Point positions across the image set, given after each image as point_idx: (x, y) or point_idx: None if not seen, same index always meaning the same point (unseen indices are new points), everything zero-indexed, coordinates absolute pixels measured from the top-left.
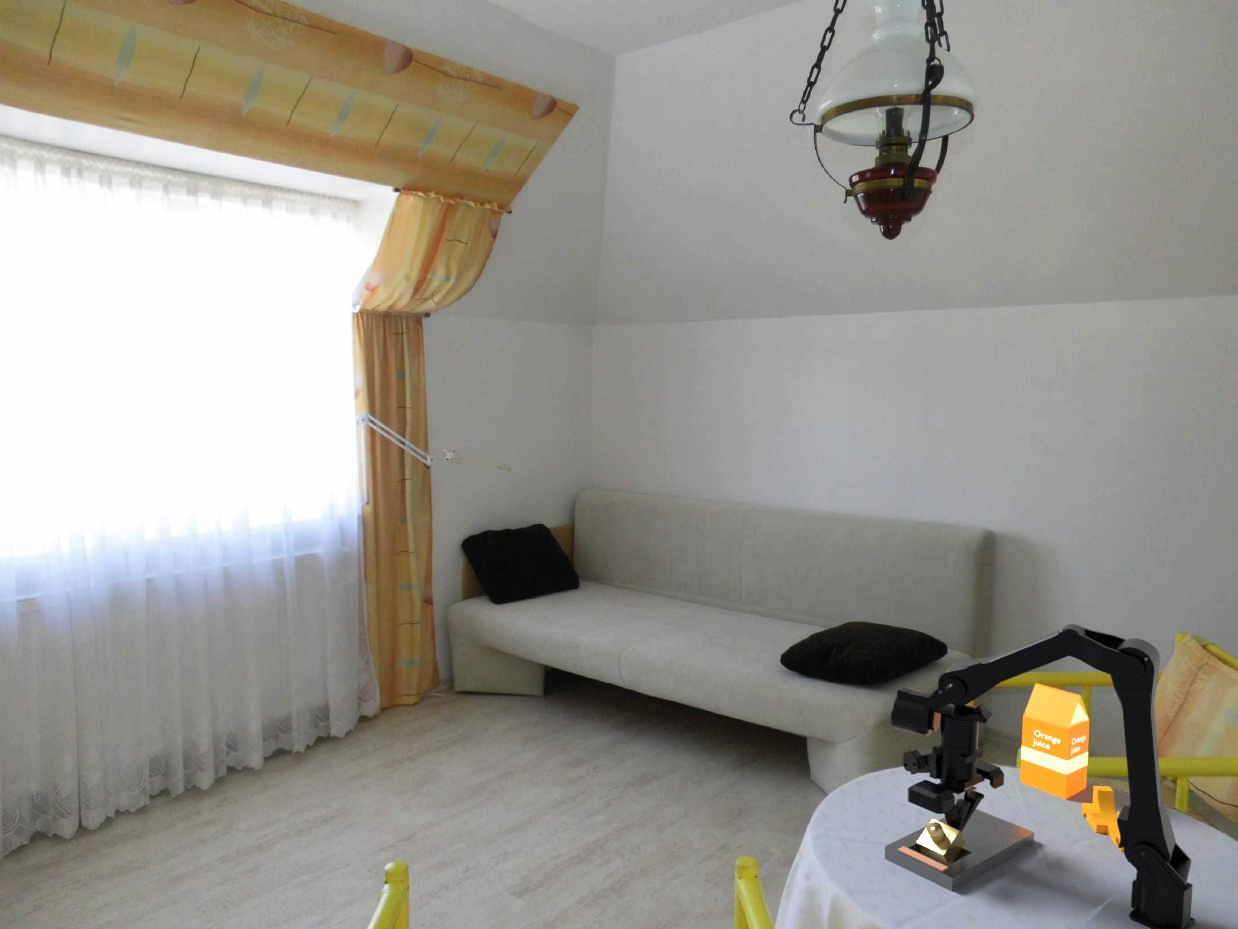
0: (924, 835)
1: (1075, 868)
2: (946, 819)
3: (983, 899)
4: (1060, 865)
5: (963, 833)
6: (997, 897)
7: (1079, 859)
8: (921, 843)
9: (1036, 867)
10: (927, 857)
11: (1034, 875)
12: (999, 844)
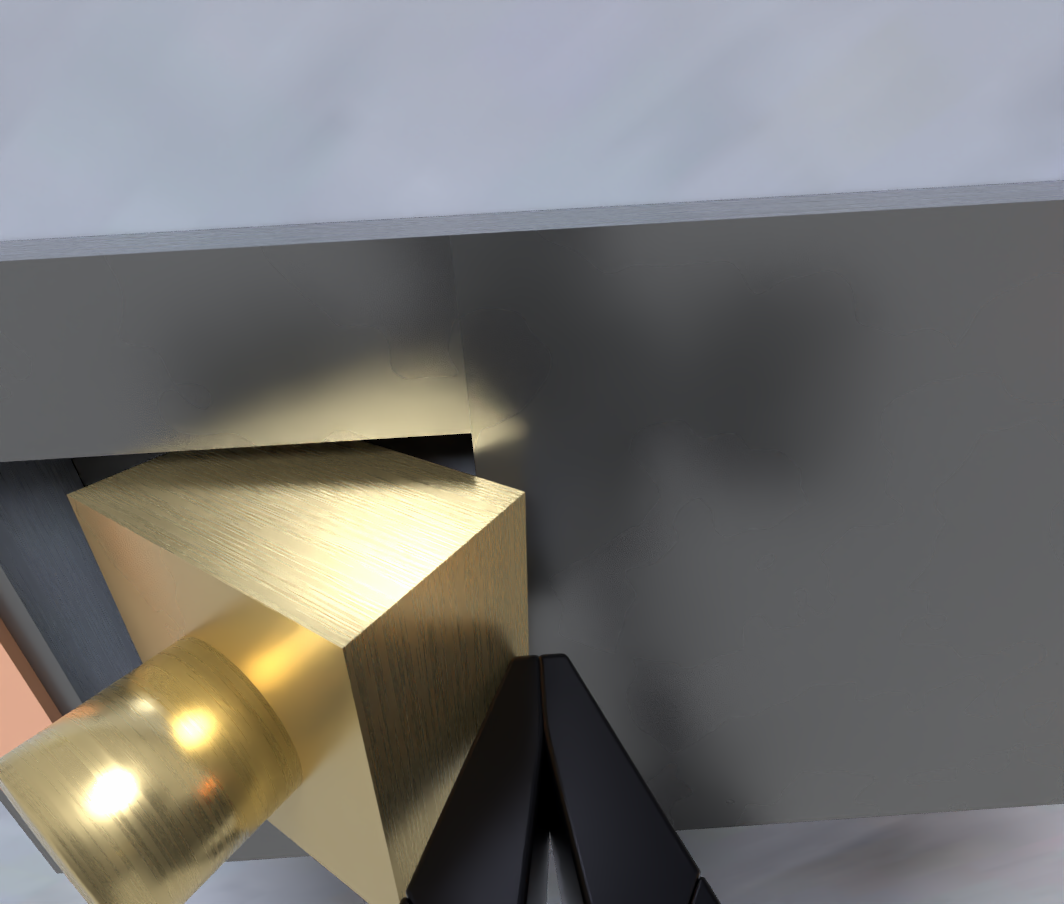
0: (153, 567)
1: (932, 892)
2: (426, 852)
3: (238, 867)
4: (916, 860)
5: (782, 569)
6: (326, 881)
7: (1053, 866)
8: (96, 555)
9: (800, 829)
10: (25, 686)
11: (702, 857)
12: (806, 786)
